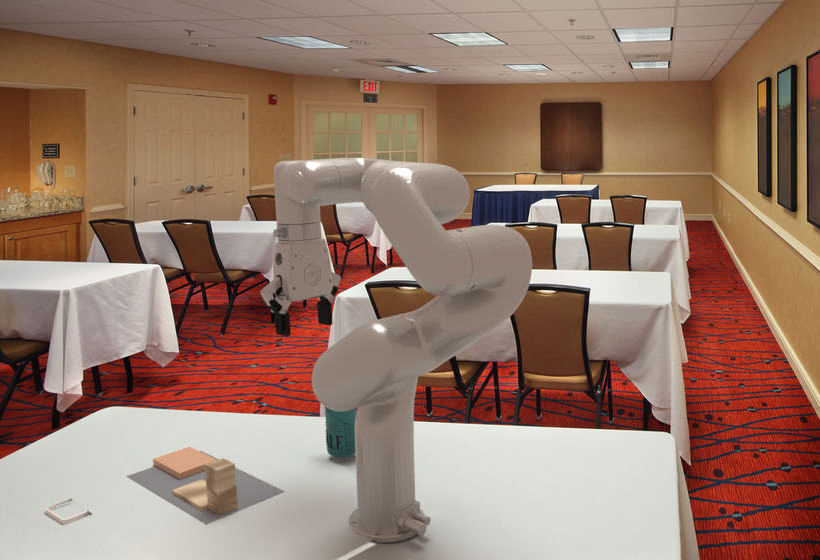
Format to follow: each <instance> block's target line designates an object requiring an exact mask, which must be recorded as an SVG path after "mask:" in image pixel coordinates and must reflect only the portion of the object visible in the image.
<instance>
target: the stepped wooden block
mask: <svg viewBox="0 0 820 560" xmlns="http://www.w3.org/2000/svg"><path fill="white" fill-rule="evenodd" d="M218 459H219V458H218ZM235 468H236V463H234V462H232V461H230V460H229V459H225V458H224V457H222V458H220V459H219V460H216V461H213V462H211V463H208V464H205V475H206V481H204V480H202V479H201V480H198V481H196V482H193V483H190V484H188V485H185V486H182V487H179V488H177V489H174V490H172V493H173V494H174V495H175V496H177V497H179V498H181V499H182V500H184V501H186V502H187V503H189V504H191V505H193V506H194V507H196V508H198V509H199V510H201V511H205V510H207V509H210V510H212V511H213V512H215V513H217V514H219V515H221V514H224V513H226V512H228V511H231V510H233V509H236V508H238V502H237V488H236V474H235Z"/></svg>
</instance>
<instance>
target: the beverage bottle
mask: <svg viewBox="0 0 820 560" xmlns="http://www.w3.org/2000/svg"><path fill="white" fill-rule="evenodd" d="M356 414H357V408H355V409H352V410H348V411H343V412H339V411H333V410H331V409H328V408H327V407H325V406H324V416H325V424H324V425H325V436H326V437H325V444H326V451H327V454H328V455H330V456H332V457H335V458H347V457H351V456H354V455H356V453H355V419H356Z"/></svg>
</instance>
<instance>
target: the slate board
mask: <svg viewBox="0 0 820 560" xmlns="http://www.w3.org/2000/svg"><path fill="white" fill-rule="evenodd" d="M199 451H200V452H202V453H204V454H206V455H208V456H210V457H212V458H214V459H216V460H219V458H217V457H215V456H212V455H210V454H208V453H206V452H204V451H203V450H199ZM235 474H236V488H237V502H238V508H236V509H233V510H231V511H228V512H226V513H224V514H221V515H219V514H217V513H215V512H213V511H212V510H210V509H207V510H205V511H201V510H199V509H198V508H196V507H194V506H193V505H191V504H189V503H187V502H186V501H184V500H182V499H181V498H179V497H177V496H175V495H174V494H173V493H172V490H174V489H177V488H179V487H182V486H185V485H188V484H190V483H193V482H196V481H198V480H201V479H202V480H204V481H206V475H205V470H204V471H202V472H199V473H196V474H193V475H191V476H188V477H185V478H182V479H179V478H177V477H175V476H173V475H171V474H170V473H168V472H166V471H164V470H162V469H160V468H159V467H157V466H155V465H154V466H152V467H149V468H146V469H144V470H143V469H142V470H140V471H137V472H135V473H132V474H129V475H126V478H127V479H130V480H131V481H132V482H135V483H137V484H138V485H140V486H141V487H142V488H145V489H146V490H147V491H150V492H151V493H153V494H155V495H156V496H158V497H160V498H161V499H163V500H165V501H167V502H168V503H170V504H172V505H173V506H175V507H176V508H178V509H180V510H181V511H183V512H185V513H186V514H188V515H189V516H191V517H193V518H194V519H196V520H198V521H200V522H202V523H203V524H205V525H209V524H211V523H214V522H216V521H218V520H220V519H221V520H222V519H223V518H226V517H227V516H230V515H233V514H235V513H237V512H240V511H242V510H245V509H247V508H249V507H252V506H254V505H257V504H260V503H261V502H264V501H267V500H268V499H271V498H274V497H275V496H278V495H280V494H283V493H285V492H286V491H285V490H283V489H281V488H279V487H277V486H275V485H273V484H271V483H269V482H267V481H265V480H262V479H260V478H258V477H256V476H254V475H252V474H250V473H248V472H245V471H244V470H241V469H239V468H238V467H235Z"/></svg>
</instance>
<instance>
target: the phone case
mask: <svg viewBox="0 0 820 560" xmlns="http://www.w3.org/2000/svg"><path fill="white" fill-rule="evenodd" d="M71 501H73V499H72V498H68V499H66V500H65V499H64V500H62V501H60V502H57V503H54V504H52V505H49V506H47V507H45V509H44V510H45V511H44V512H45V514H46V515H48V516H49V517H51V518H53V520H55V521H57V522H58V523H60V524H62V525H68V524H69V525H70V524H72V523H74V522H77V521H79V520H81V519H83V518H87V517H89V516H92V515H93V513H92V512H91V511H89V510H85V511H82V512H80V513H77V514H75V515H72V516H69V517H66V518H63V517H61V516H60V515H59V514H56V513H55V512H54V511H55V510H56V507H58V506H61V505H65V504H66V503H69V502H71ZM91 514H92V515H91ZM88 515H89V516H88Z"/></svg>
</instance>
